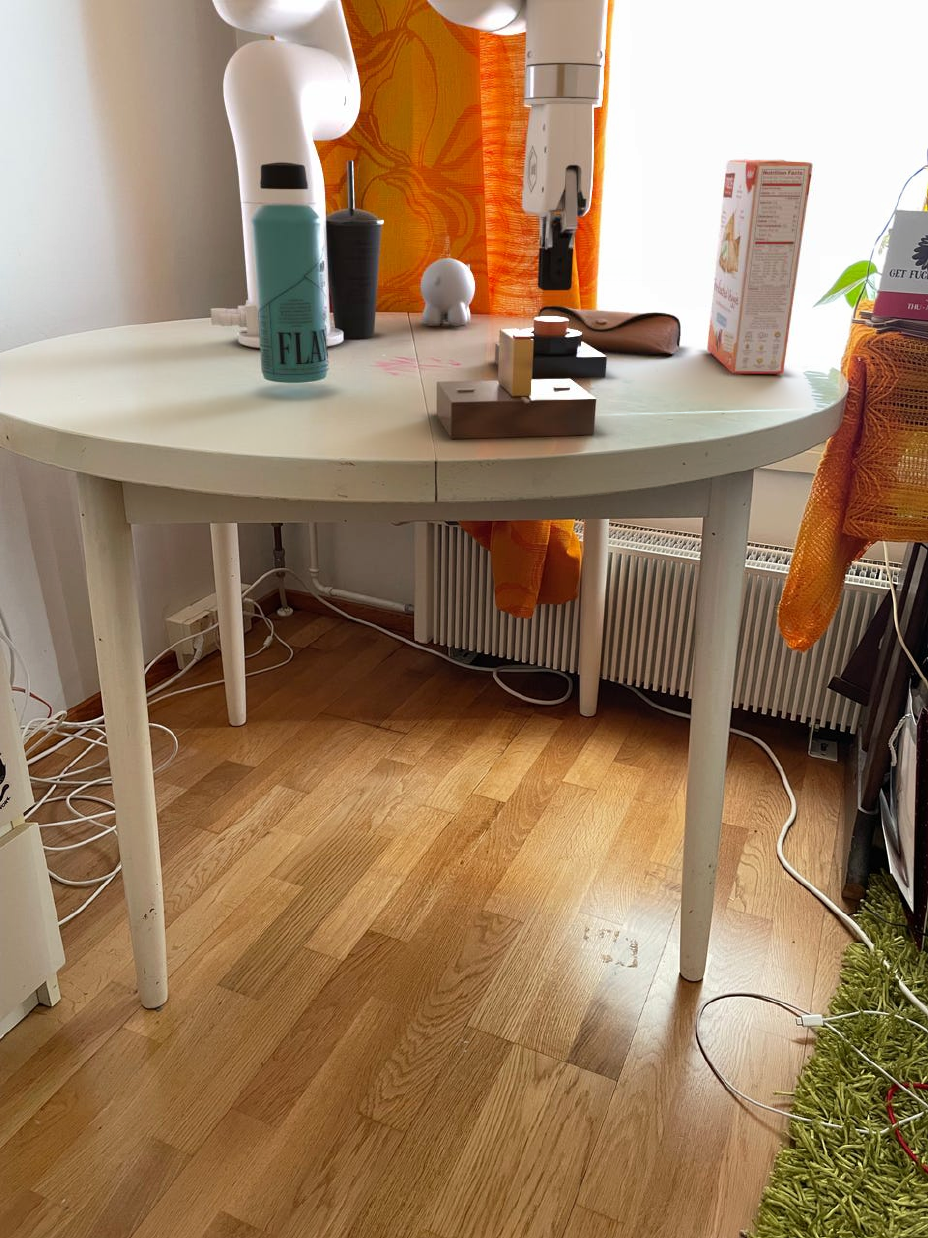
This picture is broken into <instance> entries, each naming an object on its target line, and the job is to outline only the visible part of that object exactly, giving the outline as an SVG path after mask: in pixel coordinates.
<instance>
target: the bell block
mask: <svg viewBox="0 0 928 1238" xmlns="http://www.w3.org/2000/svg"><path fill="white" fill-rule="evenodd" d="M533 330H534V327H530V328H522V329H521V330H520V331H521V332H523V333H524V334H529V335H530V336H531V339H533V340H534V342H533V365H532V380H544V379H593V378H595V379H596V378H597V379H598V378H606V377H607V376H606V375H607V361H608V356H606V355H605V354H603V352H598V351H597V350H595V349H594V348H592V347H590V346H589V345H587V344H585V343H584V342H582V333H581V332H579V331H577V330H571V329H568V332H567V335H554V336H549V335H538V334H533ZM494 344H495V345H494V364H495V365H496V366H497V367H499V342H496V343H494Z"/></svg>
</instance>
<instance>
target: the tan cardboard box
mask: <svg viewBox="0 0 928 1238" xmlns="http://www.w3.org/2000/svg"><path fill="white" fill-rule="evenodd" d="M498 339H499V341H498V343H499V366H498V372H497V380H498V383H499V384H500V385H501V386H502V387H503V388H504V389H505V390H506V391H508V392H509V393H510V394H511V395H512V396H531V388H532V380H533V379H532V365H533V342H534V340H533V339H531V336H530V335H529V334H524V333H523V332H521V330H519V329H518V328H500V329H499V338H498Z"/></svg>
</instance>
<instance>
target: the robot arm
mask: <svg viewBox="0 0 928 1238" xmlns="http://www.w3.org/2000/svg"><path fill="white" fill-rule="evenodd" d="M211 1H212V3H213V6H214V8H215V10H216V12H217V14H218V16H219V17H220V18H221V19H222V20H223V21H224V22H225V23H226V24H228V25H230V26H232V27H234V28H236V29H239V30H242V31H246V32H250V33H254V34H260V35H266V36H271V37H273V38H274V39H259V40H255V41H251V42H247V43H245V44H244V45H242V46H241V47H239V49H237V50H236V51H235V52H234V53H233V55H232V56H231V58H230V59H229V61H228V62H227V64H226V67H225V71H224V75H223V82H222V86H223V87H222V89H223V90H222V91H223V100H224V106H225V111H226V116H227V119H228V123H229V127H230V131H231V135H232V140H233V144H234V151H235V157H236V165H237V174H238V183H239V194H240V195H239V196H240V206H241V219H242V234H243V247H244V261H245V273H246V275H245V276H246V285H247V286H246V288H247V299H245V305H237V308H226V307H223V308H222V307H218V308H214V307H213V308H212V307H211V308H210V318H211V325H212V326H221V327H231V326H238V327H239V328H244V329H241V330H239V331H238V332H237V341H238V343H239V344H241V345H243V346H245V347H250V348H255V349H260V338H259V324H258V297H257V284H256V271H255V257H254V244H253V230H252V224H251V218H252V216H253V215H254V214H255V212H256V211H257V210H258V209H259V208H260V207H261V206H262V205H277V204H287V205H307V206H310V207H311V208H312V209H313V210H314V211H315V212H316V213H317V214H318V215H319V217H320V218H321V225H320V228H321V244H322V248H324V250H322V253H323V255H322V261H323V262H324V269H325V270H323V278H324V273H325V278H324V282H325V284H323V285H325V286H324V294H325V295H324V308H325V307H326V308H325V312H326V313H325V314H326V316H327V318H326V316H325V318H326V319H325V325H326V328H327V336H326V344H327V346H328V347H333V346H336V345H340V344H341V343H342V342H344V338H343V331H342V330H340V329H338V328H335V326H331V314H330V312H331V311H330V284H329V276H328V259H327V235H326V216H327V214H326V195H325V193H326V192H325V182H324V174H323V170H322V164H321V161H320V157H319V155H318V152H317V148H316V146H315V142H314V141H321V142H322V141H332V140H337V139H339V138H341V137H342V136H344V135H346V134H347V133H348V132H349V131H350V130H351V129H352V127H353V126H354V124H355V122H356V120H357V118H358V115H359V112H360V106H361V86H360V79H359V78H360V77H359V73H358V69H357V63H356V60H355V56H354V52H353V48H352V44H351V39H350V35H349V31H348V26H347V23H346V22H347V21H346V17H345V14H344V13H345V12H344V9H343V5H342V1H341V0H211ZM426 1H427V2H428V4H429V5H430V6H431V7H432V8H433V9H434V10H435V11H436V12H437V13H438V14H440V15H441V16H442V17H443V18H445V19H446V20H447V21H449V22H451V23H454V24H456V25H460V26H462V27H463V26H465V27H469V28H473V29H475V30H479V31H480V32H485V33H489V34H493V35H498V36H510V35H512V36H513V35H517V34H521V33H525V57H524V58H525V59H524V83H523V85H524V86H523V106H524V107H527V108H530V110H529V116H528V122H527V130H526V138H525V139H526V141H525V153H524V166H523V167H524V168H523V182H522V197H521V208H522V210H523V211H524V213H526V214H527V215H530V216H535V217H538V223H539V225H538V227H539V234H538V236H539V239H538V241H539V242H538V243H539V244H538V245H539V247H538V264H537V265H538V269H537V287H538V288H539V290H542V291H569V290H571V289H572V285H573V284H572V282H573V281H572V280H573V266H574V265H573V263H574V247H575V238H576V231H577V229H578V223H579V222H578V220H579V219H578V218H583V217H584V216H585V215H586V214H587V213H588V212H589V210H590V209H591V202H592V191H593V178H594V177H593V174H594V138H595V137H594V135H595V134H594V132H595V125H594V123H595V122H594V108H599V107H600V108H601V107H602V106H603V105H602V103H603V90H604V74H605V73H604V71H605V68H604V67H605V56H606V55H605V54H606V51H605V50H606V39H607V37H606V35H607V23H608V20H607V19H608V18H607V17H608V6H609V5H608V3H609V0H426ZM278 162H286V163H294V164H299V165H304V166H305V170H306V179H307V183H308V189H261V187H260V181H261V165H264V164H270V163H278ZM324 282H323V283H324ZM325 298H326V299H325ZM327 337H328V338H327ZM327 339H328V340H327ZM327 341H328V343H327Z"/></svg>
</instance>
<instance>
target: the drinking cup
mask: <svg viewBox="0 0 928 1238" xmlns="http://www.w3.org/2000/svg"><path fill="white" fill-rule="evenodd" d="M346 167H347V171H346V173H347V198H348V199H347V202H348V203H347V204H348V208H342V209H338V210H335V211H332V212H331V213H329V214H326V235H327V259H328V283H329V294H330V299H331V308H332V309H331V310H332V317H333V325H334V328H338V329H340V330H342V331H343V339H345V340H346V339H347V340H361V339H362V340H363V339H371V338H373V337H375V326H376V324H375V323H376V313H377V312H376V311H377V297H378V281H379V268H380V267H379V266H380V252H381V251H380V250H381V240H382V239H381V238H382V226H383V225H384V224H385V221H384V219H382V218H379V217H378V216H376V215H375V214H374V213H372V212H370V211H367V210H364V209H360V208H355V189H354V188H355V187H354V185H355V184H354V183H355V182H354V161H353V160H346Z"/></svg>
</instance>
